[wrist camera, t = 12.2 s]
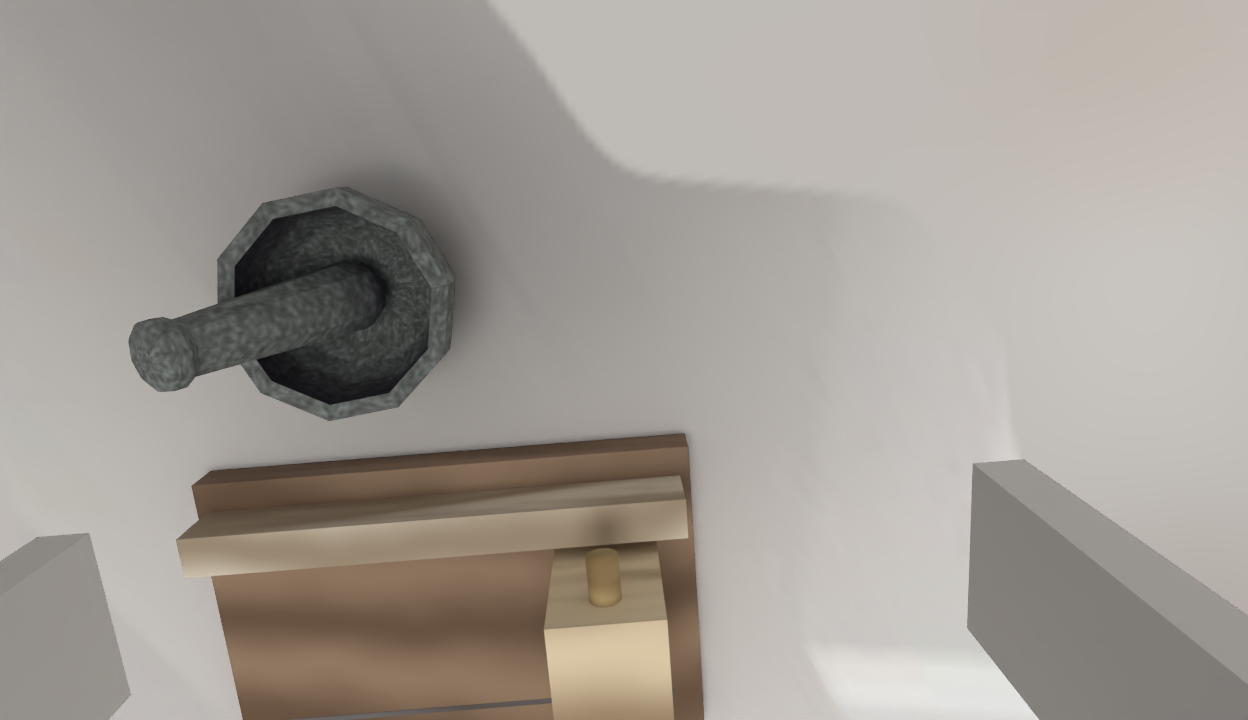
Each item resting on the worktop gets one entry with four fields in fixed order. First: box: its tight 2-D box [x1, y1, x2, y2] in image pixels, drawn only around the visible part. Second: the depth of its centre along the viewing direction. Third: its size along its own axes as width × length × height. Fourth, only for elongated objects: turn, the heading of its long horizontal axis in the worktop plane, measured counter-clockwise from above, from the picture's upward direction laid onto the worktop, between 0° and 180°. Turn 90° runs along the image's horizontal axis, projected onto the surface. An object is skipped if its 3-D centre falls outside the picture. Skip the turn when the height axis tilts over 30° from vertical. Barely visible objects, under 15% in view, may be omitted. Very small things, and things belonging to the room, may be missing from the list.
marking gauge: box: [544, 541, 674, 720], centre depth 37 cm, size 12×5×9 cm, turn 4°
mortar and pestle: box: [129, 187, 455, 421], centre depth 34 cm, size 11×9×12 cm
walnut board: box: [176, 434, 704, 720], centre depth 41 cm, size 17×25×5 cm
